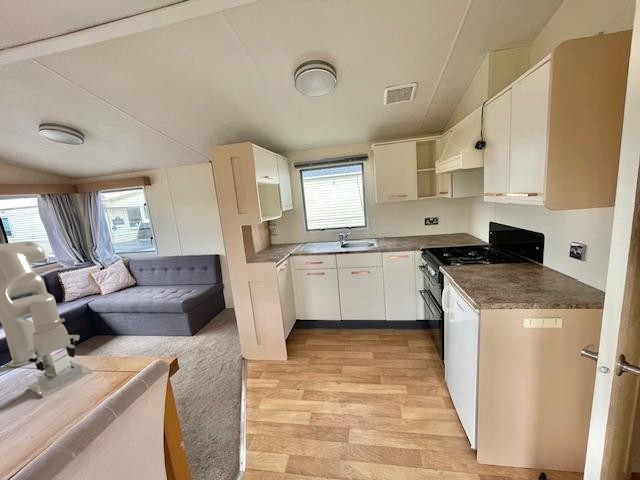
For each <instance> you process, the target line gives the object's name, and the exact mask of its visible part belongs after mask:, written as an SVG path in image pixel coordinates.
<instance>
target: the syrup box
mask: <svg viewBox="0 0 640 480" xmlns="http://www.w3.org/2000/svg"><path fill="white" fill-rule="evenodd" d="M41 361H42V362H43V366H44V372H45V373H46V376H48V377H49V378H53V377H56V376H58V375H60V374H62V373H64V372H66V371H68V370H70V369H71V366H70V362H69V361H70V358H69V353H68V349H67V347H65V348H61V349H59V350H56V351H54V352H52V353H50V354H48V355H46V356H44V357H43V358H42V360H41Z"/></svg>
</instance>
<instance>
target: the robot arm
mask: <svg viewBox="0 0 640 480" xmlns="http://www.w3.org/2000/svg"><path fill="white" fill-rule="evenodd" d="M45 259H46V252H45V250H44V249H43V247H42V246H40V245H39V244H37V243H35V242H32V241H18V242H16V241H15V242H8V243H7V242H6V243H0V324H1V326H2V329H3V331H4V335H5V338H6V343H7V346H8V349H9V352H10V353H9V354H10V357H11V359H12V360H11V361H9V362H8V364H7V365H8V367H9V368H17V367H22V366H26V365H29V364H32V363H33V364H35V368H36V370H37V371H40V372H45V369H44V366H43V362H42V358H43V357H44V356H46V355H48V354H50V353H52V352H54V351H56V350H59V349H61V348H65V347H66V348H67V354H68V357H70V358H75V354H76V350H75V347H76V345H77V344H78V343H79V340H80V335H79V334H69V333H68V330H67V329H66V327H65V325H64V324H62V323H63V322H65V321H66V320H65V318H64V317H63V318H60V315H59V311H58V306H57V302H56V299H55V296H54V295H53V294H52V293H49V292H48V291H47V287H46V284H45V281H44V279H43V277H42V276H41V275H39V274H37V273H36V271H35V269H34V268H33V266H32V264H34V263H39V262H40V263H41V262H43V261H45ZM29 294H30V295H29ZM31 294H32V295H31ZM25 295H28V296H25ZM20 296H24V297H20ZM16 297H20V298H16ZM12 298H14V299H13V300H12ZM15 298H16V299H15ZM29 316H30V317H31V320H29V319H26V317H29ZM71 339H73V340H72V342H71ZM12 361H13V362H12ZM10 362H11V363H10Z"/></svg>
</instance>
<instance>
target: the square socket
mask: <svg viewBox="0 0 640 480" xmlns="http://www.w3.org/2000/svg"><path fill="white" fill-rule="evenodd" d="M69 362H70V366H71V369H70V370H68V371H66V372H64V373H62V374H60V375H58V376H56V377H53V378H49V377H48V376H46V373H45V371H43V372H42V373H40V374H38V375H36V378H37V381H36V382H34V383H31V384H29V385H28V386H27V388H28V389H29V390H30V391H32V392H33V393H35V394H36V395H38V396H40V397H41V398H45V397H47V396H49V395H51V394H53V393H55V392H57V391H59V390H61V389H63V388H65V387H66V386H68V385H70V384H73V383H75V382H77V381H79V379H82V378H84V377H86V376H89V374H92V373H93V369H92V368H89V367H87V366H85V365H82V364H81V363H80V364H79V363H76V362H73V361H71V360H69Z"/></svg>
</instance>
